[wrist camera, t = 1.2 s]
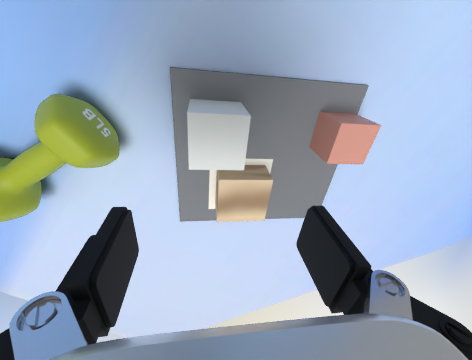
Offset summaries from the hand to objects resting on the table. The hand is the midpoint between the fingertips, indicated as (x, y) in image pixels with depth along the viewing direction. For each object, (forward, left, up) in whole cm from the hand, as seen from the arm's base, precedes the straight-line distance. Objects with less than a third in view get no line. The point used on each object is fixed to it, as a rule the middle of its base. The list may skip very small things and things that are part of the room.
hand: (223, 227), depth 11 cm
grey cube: (0, 0, -18) cm, 18 cm away
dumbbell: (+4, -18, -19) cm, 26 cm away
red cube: (0, +17, -18) cm, 24 cm away
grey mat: (+5, +7, -18) cm, 20 cm away
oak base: (+9, +5, -18) cm, 20 cm away
